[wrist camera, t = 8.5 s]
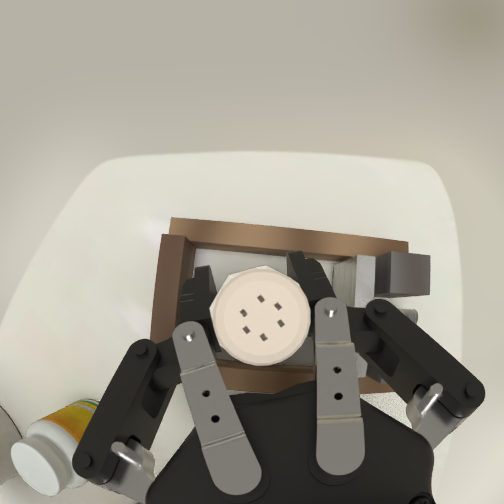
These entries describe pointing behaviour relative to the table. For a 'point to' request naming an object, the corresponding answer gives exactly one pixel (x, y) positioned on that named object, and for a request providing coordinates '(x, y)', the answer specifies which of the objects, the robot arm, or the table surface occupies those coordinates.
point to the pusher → (359, 290)
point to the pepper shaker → (260, 316)
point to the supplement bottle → (53, 449)
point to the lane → (277, 243)
